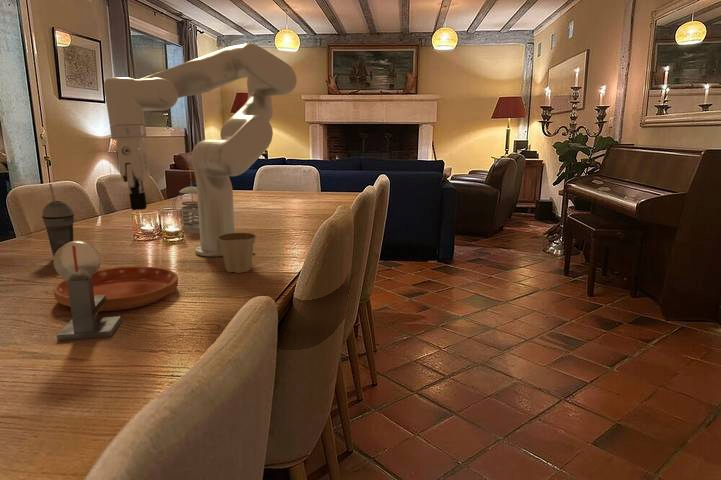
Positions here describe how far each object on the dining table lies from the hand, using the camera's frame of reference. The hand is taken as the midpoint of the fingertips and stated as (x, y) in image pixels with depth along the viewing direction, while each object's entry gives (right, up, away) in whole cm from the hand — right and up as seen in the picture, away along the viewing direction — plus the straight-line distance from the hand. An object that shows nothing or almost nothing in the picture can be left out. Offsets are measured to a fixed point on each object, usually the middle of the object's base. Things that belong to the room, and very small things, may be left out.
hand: (139, 208), depth 117 cm
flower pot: (+24, -15, +2) cm, 28 cm away
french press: (-5, -4, +50) cm, 50 cm away
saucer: (+4, -20, -18) cm, 27 cm away
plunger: (+7, -20, -32) cm, 38 cm away
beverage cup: (-25, -13, +11) cm, 30 cm away
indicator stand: (+8, -23, -34) cm, 42 cm away
